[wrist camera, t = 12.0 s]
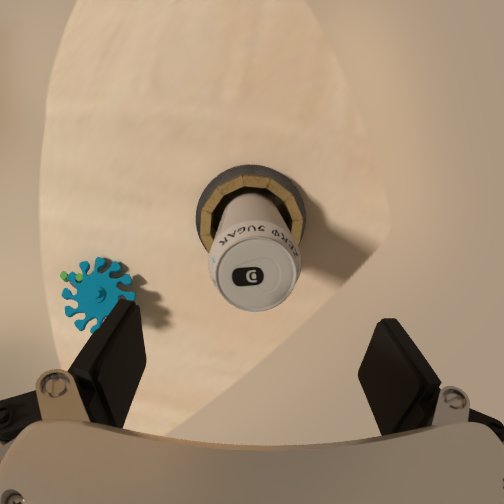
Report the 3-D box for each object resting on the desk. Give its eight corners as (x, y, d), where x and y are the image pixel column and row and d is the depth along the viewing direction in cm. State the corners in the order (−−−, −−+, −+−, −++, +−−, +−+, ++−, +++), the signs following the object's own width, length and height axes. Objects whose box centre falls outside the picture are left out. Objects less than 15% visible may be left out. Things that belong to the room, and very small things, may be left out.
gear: (149, 281, 33) (107, 351, 28) (152, 294, 38) (117, 354, 34) (83, 237, 33) (41, 299, 28) (93, 255, 38) (57, 310, 33)
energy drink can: (279, 243, 32) (306, 315, 18) (225, 247, 32) (212, 322, 18) (277, 189, 30) (306, 222, 16) (220, 193, 30) (198, 231, 16)
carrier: (201, 160, 30) (194, 161, 26) (309, 171, 31) (319, 174, 27) (195, 262, 34) (189, 277, 30) (295, 270, 35) (301, 287, 31)
